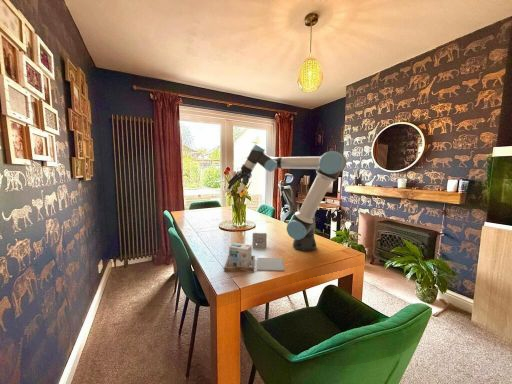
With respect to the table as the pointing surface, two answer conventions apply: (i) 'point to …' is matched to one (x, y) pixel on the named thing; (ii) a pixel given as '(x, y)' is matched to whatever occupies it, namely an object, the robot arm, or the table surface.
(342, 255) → the table surface
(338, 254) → the table surface
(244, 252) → the light bulb box
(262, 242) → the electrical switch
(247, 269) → the walnut collar
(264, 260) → the rubber mat
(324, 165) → the robot arm
